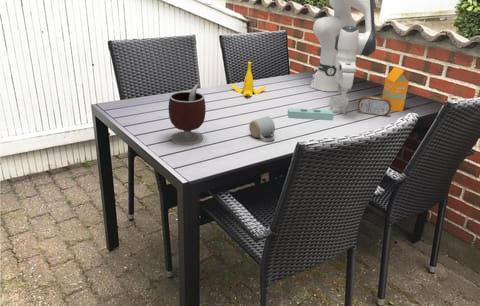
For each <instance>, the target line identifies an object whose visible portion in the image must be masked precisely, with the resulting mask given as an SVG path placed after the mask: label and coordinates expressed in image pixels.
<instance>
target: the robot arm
mask: <svg viewBox="0 0 480 306" xmlns="http://www.w3.org/2000/svg"><path fill="white" fill-rule="evenodd" d="M328 3H329V5H330V7H331V8H332V9H333V16H323V17H319V18H316V20H315V21H314V22H313V25H312V32H313V33H314V34H313V35H314V36H315V37H316V38H317V39H318V41H319V43H320V57H319V61H318V62H319V63H318V64H317V65H318V67H317V71H316V72H315V73H313V74H312V78H313V79H311V82H310V84H309V88H311V89H313V90H314V89H315V90H318V91H322V92H328V93H329V92H340V93H341V96H340V97H346V96H347V92H348V91H349V90H351V89H352V87H353V84H354V78H355V73H357V64H356V63H357V55H360V56H364V57H368V56H371V55H373V54H375V53H374V52H376V50H377V46H378V44H377V36H376V27H375V26H376V23H375V22H376V21H375V10H374V2H373V0H329V2H328ZM352 8H353V9H355V10H358V11H359V12H361V13H362V14H363V17H364V23H365V24H364V25H365V32H359V31H360V29H359V28H358V27H357V23H356V21H355V19H354V18H353V16H352ZM346 98H347V97H346Z"/></svg>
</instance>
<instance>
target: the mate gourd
mask: <svg viewBox="0 0 480 306" xmlns="http://www.w3.org/2000/svg"><path fill="white" fill-rule="evenodd" d="M198 87H199V83H197V84H195V85H194V86H193V87H192V89H191V90H190V91H179V92H178V91H177V92H174V93H172V94H170V95H169V100H168V116H169V120H170V123H171V124H172V125H173V127H175V128H176V129H177V130H181V131H179V132H176V133H174V134H172V135H171V141H172V142H173V143H174V144H177V145H181V146H193V145H194V146H195V145H197V144H200V143H202V142H203V141H204V135H202V134H201V133H200V132H196V131H194V130H197V129H199V128H200V127H201V126H202V125H203V123H204V122H205V119H206V118H205V117H206V109H207V108H206V101H205V95H204V94H202V93H200V92H197V91H198V90H197V89H198Z"/></svg>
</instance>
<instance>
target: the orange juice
mask: <svg viewBox="0 0 480 306" xmlns="http://www.w3.org/2000/svg"><path fill="white" fill-rule="evenodd" d="M409 84H410V81H409V79H408V77H407V75H406V73H405V70H404V69H402V68H399V67H397V66H394V67H393V68H392V69H391V70H390V72H389V73H388V74H387V75H386V76H385V79H384V86H383V90H382V96H381V98H385V99H387V100H389V101H390V103H391V109H390V112H402V111H404V107H405V103H406V99H407V92H408V88H409Z"/></svg>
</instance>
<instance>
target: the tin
mask: <svg viewBox="0 0 480 306" xmlns="http://www.w3.org/2000/svg"><path fill="white" fill-rule="evenodd" d="M357 108H358V110H359V111H360V112H361V113H362V114H367V115H374V116H379V117H383V116H387V115H388V114H389V113H390V112H391V111H390V109H391V103H390V101H389V100H387V99H385V98H382V97H378V96H372V95H364V96H362V97H360V99H359V100H358V102H357Z"/></svg>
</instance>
